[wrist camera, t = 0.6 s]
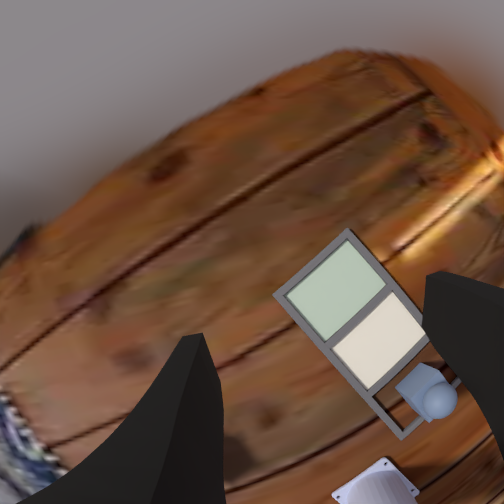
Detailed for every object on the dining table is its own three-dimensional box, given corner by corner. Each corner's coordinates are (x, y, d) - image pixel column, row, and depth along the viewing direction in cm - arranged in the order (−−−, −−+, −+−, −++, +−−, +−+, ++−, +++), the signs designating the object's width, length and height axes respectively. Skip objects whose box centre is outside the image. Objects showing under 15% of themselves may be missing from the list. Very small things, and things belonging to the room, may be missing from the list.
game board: (464, 374, 28) (466, 375, 27) (399, 439, 28) (401, 440, 27) (346, 228, 33) (347, 227, 32) (272, 294, 33) (272, 294, 32)
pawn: (437, 384, 28) (471, 402, 20) (412, 408, 28) (441, 433, 20) (420, 362, 29) (453, 376, 21) (394, 387, 29) (421, 408, 21)
